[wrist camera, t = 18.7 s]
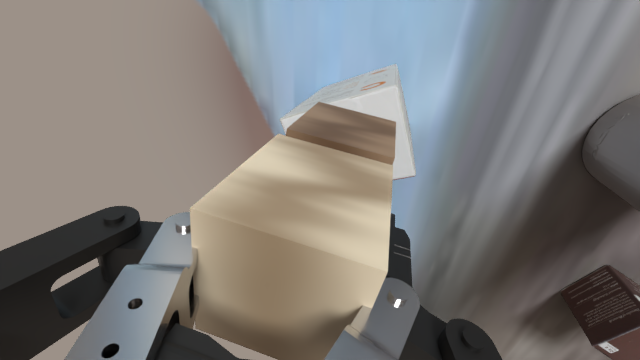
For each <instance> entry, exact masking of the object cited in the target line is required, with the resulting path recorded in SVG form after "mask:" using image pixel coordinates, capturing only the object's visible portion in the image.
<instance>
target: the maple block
mask: <svg viewBox="0 0 640 360" xmlns="http://www.w3.org/2000/svg"><path fill="white" fill-rule="evenodd" d="M392 179H393V165H390V164H386V163H383V162H379V161H375V160H372V159H368V158H364V157H361V156H357V155H353V154H350V153H346V152H343V151H339V150H335V149H332V148H328V147H324V146H321V145H317V144H313V143H310V142H306V141H303V140H299V139H295V138H292V137H288V136H284V135H281V134H278V135H276V136H275V137H274V138H273V139H272V140H270V141H269V142H268V143H267V144H266V145H265V146H263V147H262V148H261V149H260V150H258V151H257V152H256V153H255V154H254V155H252V156H251V157H250V158H249V159H248V160H247V161H245V162H244V163H243V164H242V165H241V166H239V167H238V168H237V169H236V170H235V171H233V172H232V173H231V174H230V175H229V176H227V177H226V178H225V179H224V180H223V181H221V182H220V183H219V184H218V185H217V186H215V188H213V189H212V190H211V191H209V192H208V193H207V194H206V195H205V196H204V197H202V198H201V199H200V200H199V201H198V202H196V203H195V204H194V205H193V206H192V207H190V225H191V245H192V247H194V248H197V249H198V262H197V265H196V268H195V270H194V273H193V285H194V294H195V295H198V296H199V308H198V312H197V315H196V318H195V325H196V329H199V330H201V331H204V332H207V333H209V334H212V335H214V336H217V337H220V338H223V339H225V340H228V341H230V342H233V343H236V344H238V345H241V346H243V347H246V348H249V349H252V350H254V351H257V352H259V353H262V354H265V355H267V356H270V357H273V358H275V359H278V360H324V359H325V357H326V356H327V354H328V353H329V351H330V350H331V348H332V347H333V345H334V344H335V342H336V341H337V339H338V338H339V336H340V335H341V333H342V332H343V330H344V329H345V327H346V326H347V325H348V324H349V325H351V323H352V322H353V320H354V319H355V317H356V316H357V314H358V312H359V311H360V309H361V308H362V306H366V307H369V308H372V307H373V305H374V303H375V300H376V298H377V296H378V293H379V291H380V289H381V286H382V284H383V282H384V280H385V277H386V275H387V273H388V258H389V238H390V218H391V198H392Z"/></svg>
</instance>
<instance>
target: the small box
mask: <svg viewBox="0 0 640 360" xmlns="http://www.w3.org/2000/svg"><path fill="white" fill-rule="evenodd" d="M318 102H322V103H326V104H330V105H334V106H337V107H341V108H345V109H349V110H353V111H357V112H361V113H364V114H368V115H372V116H376V117H380V118H384V119H387V120H391V121H395V122H396V139H395V159H394V162H393V179H392V180H397V179H402V178H408V177H414V176H415V175H416V171H415V162H414V155H413V147H412V139H411V132H410V125H409V120H408V115H407V110H406V105H405V100H404V95H403V90H402V86H401V81H400V76H399V71H398V67H397V65H396V64H393V65H390V66H387V67H383V68H380V69H377V70H374V71H371V72H368V73H365V74H361V75H358V76H355V77H352V78H349V79H346V80H343V81H340V82H337V83H334V84H331V85H328V86H326V87H323V88H322V89H320V90H319V91H318V92H316V93H315V94H314V95H312V96H311V97H310V98H308V99H307V100H305V101H304V102H302V103H301V104H300V105H298V106H297V107H296V108H294V109H293V110H291V111H290V112H289V113H287V114H286V115H285V116H283V117H282V118H281V119H280V122H281V124H282V126H283V129H284V131H285V134H286V131H287V128H288V127H289V126H290V125H292V124H293V123H294V122H295V121H296V120H298V119H299V118H300V117H301V116H302V115H304V114H305V113H306V112H307V111H308V110H309V109H311V108H312V107H313V106H314V105H315V104H317V103H318Z"/></svg>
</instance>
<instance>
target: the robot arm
mask: <svg viewBox="0 0 640 360" xmlns="http://www.w3.org/2000/svg"><path fill="white" fill-rule="evenodd" d="M582 158H583V162H584V165H585V167H586V169H587V170H588V172H589V173H590V174H591V175H592V176H593V177H594V178H596V179H597V180H598V181H600V182H601V183H602V184H604V185H605V186H606V187H608V188H609V189H610V190H612V191H613V192H614V193H616V194H617V195H618V196H619V197H621V198H622V199H624V200H625V201H626V202H628V203H629V204H630V205H632V206H633V207H634V208H636V209H637V210H638V211H640V95H636V96H634V97H632V98H630V99H628V100H625V101H623V102H621V103H620V104H618V105H617V106H615V107H613V108H612V109H610V110H609V111H608V112H607V113H605V114H604V115H603V116H602V117H601V118H600V119H599V120H598V121H597V122H596V123H595V124H594V126H593V127H592V128H591V129H590V131H589V133H588V135H587V137H586V138H585V142H584V145H583V149H582ZM410 257H411V253H410V239H409V237H408V235H407V234H406V232H405V230H403V229H399V228H396V227H395V215H394V214H391V218H390V238H389V258H388V273H387V275H386V277H385V280H384V282H383V284H382V286H381V289H380V291H379V293H378V296H377V298H376V300H375V303H374V305H373V307H372V308H369V307H366V306H362V308H361V309H360V311H359V312H358V314H357V316H356V317H355V319H354V320H353V322H352V323H351V325H349V324H348V325H347V326H346V327H345V329H344V330H343V332H342V333H341V335H340V336H339V338H338V339H337V341H336V342H335V344H334V345H333V347H332V348H331V350H330V351H329V353H328V354H327V356H326V357H325V359H324V360H502V358H501V356H500V354H499V352H498V351H497V349H496V347H495V345H494V343H493V342H492V340H491V339H490V337H489V336H488V335H487V334H486V333H485V332H484V331H483V330H482V329H481V328H479V327H478V326H477V325H475V324H473V323H472V322H470V321H467V320H464V319H453V320H450V321H449V322H448V323H445V322H443V321H442V320H440V319H439V318H437V317H435V316H434V315H432V314H431V313H429V312H428V311H427V310H425V309H424V308H423V307H422V306H421V305H420V300H419V297H418V295H417V293H416V292H415V291H414V289H413V288H412V274H411V259H410ZM95 258H97V259H98V263H99V266H98V267H96V268H94V269H92V270H91V271H89V272H87V273H85V274H83V275H81V276H80V277H78V278H76V279H74V280H72V281H70V282H69V283H67V284H65V285H63V286H61V287H60V288H58V289H56V290H55V291H52V292H51V287H52V285H53V283H54V282H55V281H56V280H57V279H58V278H60V277H61V276H63V275H65V274H67V273H69V272H71V271H72V270H74V269H76V268H78V267H80V266H82V265H84V264H86V263H87V262H90V261H91V260H93V259H95ZM197 262H198V249H197V248H194V247H192V245H191V225H190V212H183V213H178V214H175V215H172V216H170V217H169V218H167V219H166V220H165V221H164V222H163V223H162V222H148V221H140V216H139V212H138V211H137V210H136V209H134V208H132V207H127V206H114V207H109V208H105V209H103V210H100V211H97V212H95V213H93V214H90V215H88V216H85V217H83V218H80V219H78V220H75V221H73V222H71V223H68V224H66V225H63V226H61V227H58V228H56V229H54V230H51V231H48V232H46V233H44V234H41V235H39V236H36V237H34V238H31V239H29V240H26V241H24V242H21V243H19V244H16V245H14V246H12V247H9V248H7V249H4V250H2V251H0V360H30V359H31V358H33V357H34V356H35V355H37V354H39V353H40V352H42V351H43V350H45V349H46V348H48V347H49V346H50V345H52V344H53V343H55V342H56V341H58V340H59V339H61V338H62V337H64V336H65V335H67V334H68V333H70V332H71V331H73V330H74V329H76V328H77V327H79V326H80V325H82V324H83V323H85V322H86V321H88V320H89V319H90V320H89V322H88V324H87V325H86V327H85V328H84V330H83V331H82V333H81V334H80V336H79V337H78V339H77V341H76V342H75V344H74V345H73V347H72V348H71V350H70V351H69V353H68V355H67V356H66V358H65V359H64V360H248V359H239V358H237V357H235V356H234V355H232V354H231V353H230V352H229V351H227V350H226V349H225V348H223V347H222V346H221V345H220V344H219V343H217V342H216V341H215V340H213V339H212V338H211V337H210V336H208V335H206V334H203V333H201V332H198V331H195V330H193V325H194V321H195V318H196V315H197V312H198V308H199V296H198V295H195V294H194V285H193V273H194V270H195V268H196V265H197Z"/></svg>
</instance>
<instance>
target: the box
mask: <svg viewBox="0 0 640 360" xmlns="http://www.w3.org/2000/svg"><path fill="white" fill-rule="evenodd" d="M560 293H561V294H562V296H563V297H564V299H565V301H566V302H567V304H568V306H569V307H570V309H571V311H572V313H573V314H574V316H575V318H576V319H577V321H578V323H579V324H580V326H581V328H582V329H583V331H584V333H585V334H586V336H587V337H588V339H589V341H590V343H591V345H592V346H593V347H594V348H596V349H597V350H599V351H600V352H602V353H603V354H605V355H606V356H608V357H609V358H611V359H612V360H640V286H639V285H638V284H636V283H635V282H634V281H632V280H631V279H629V278H628V277H626V276H625V275H624V274H622V273H620V272H619V271H617V270H616V269H614V268H613V267H611V266H610V265H605V266H603V267H601V268H600V269H598V270H596V271H594V272H593V273H591V274H589V275H588V276H586V277H584V278H583V279H581V280H579V281H577V282H575V283H573V284H571V285H570V286H568V287H566V288H564V289H562V290H561V291H560Z"/></svg>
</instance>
